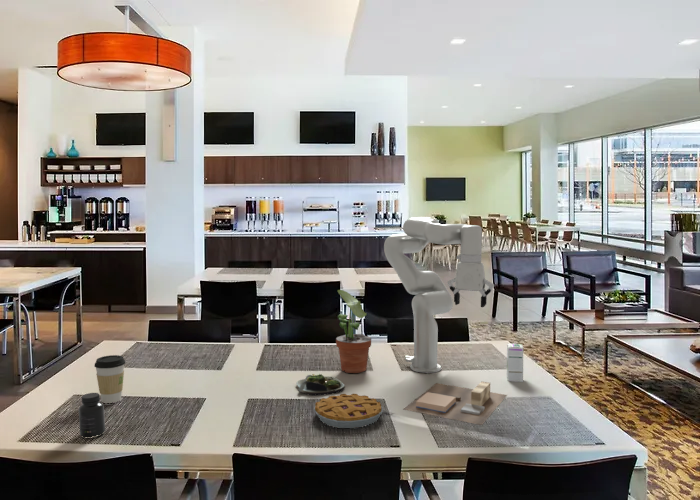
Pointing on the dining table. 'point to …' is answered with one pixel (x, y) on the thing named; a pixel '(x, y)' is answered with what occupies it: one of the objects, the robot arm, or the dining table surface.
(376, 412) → the pie
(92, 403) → the supplement bottle
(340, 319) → the potted plant
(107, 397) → the coffee cup
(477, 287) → the robot arm
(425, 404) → the tile
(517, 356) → the syrup box
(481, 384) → the tan bar
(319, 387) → the salad plate
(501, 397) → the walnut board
